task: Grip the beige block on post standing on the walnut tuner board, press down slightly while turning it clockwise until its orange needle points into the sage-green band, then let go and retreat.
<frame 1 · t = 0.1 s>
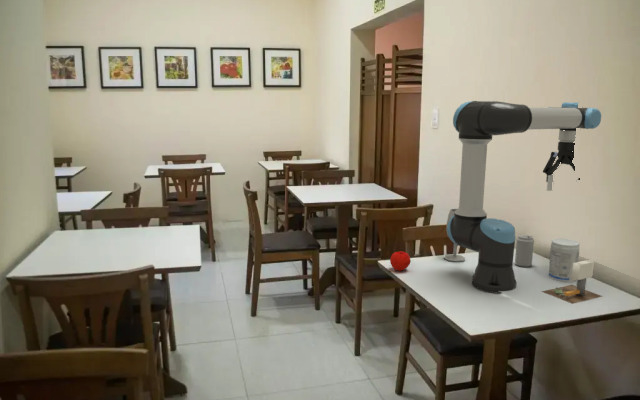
hand: (563, 193, 211), 28 cm above the table, fingers open, 13 cm apart
supplement tub: (561, 280, 191), on the table
beige block on post: (579, 279, 171), point 7 cm above the table, hinge at 0.0°
wineglass: (454, 259, 215), on the table
beverage can: (523, 265, 208), on the table
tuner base: (573, 297, 173), on the table
apple: (399, 270, 200), on the table
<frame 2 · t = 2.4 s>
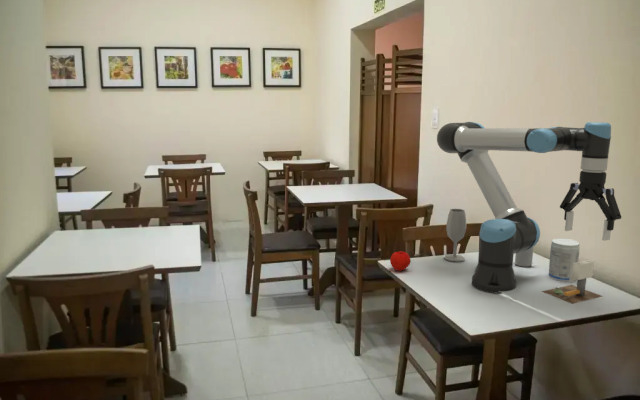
hand: (586, 235, 169), 22 cm above the table, fingers open, 13 cm apart
nothing on the table moved.
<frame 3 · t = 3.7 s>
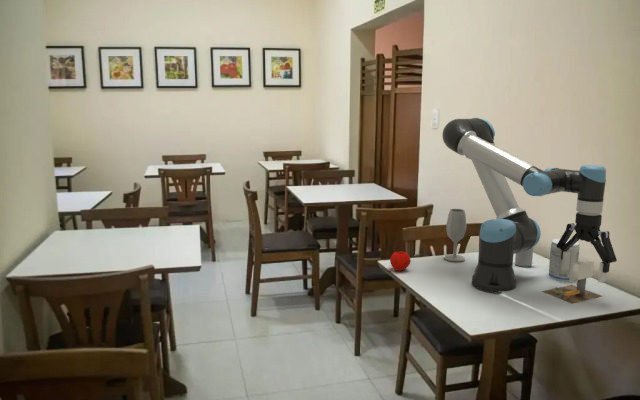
hand: (582, 275, 171), 8 cm above the table, fingers open, 13 cm apart
nothing on the table moved.
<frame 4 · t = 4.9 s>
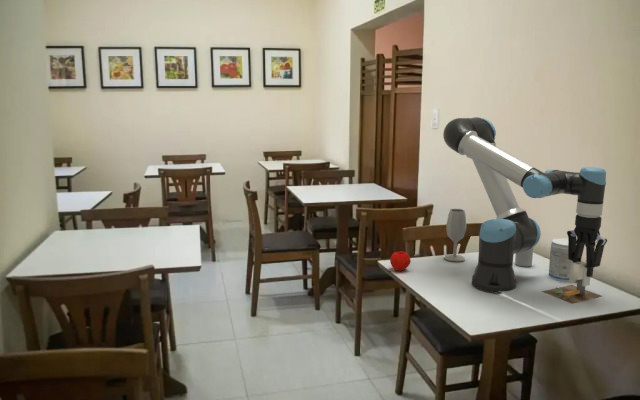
hand: (581, 283, 172), 5 cm above the table, fingers closed on beige block on post, 3 cm apart
beige block on post: (579, 279, 171), point 7 cm above the table, hinge at -0.1°, touching gripper
everything else where it was.
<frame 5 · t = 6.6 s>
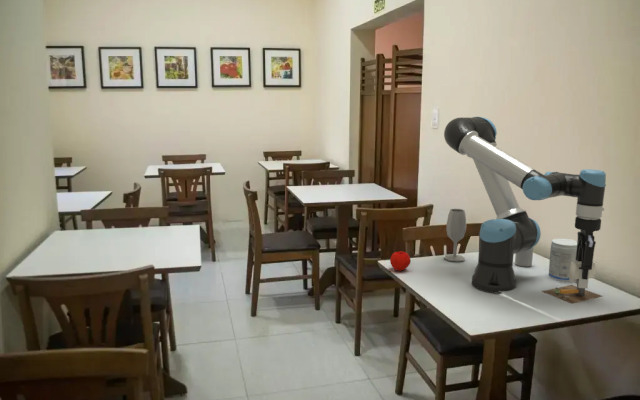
hand: (581, 285, 172), 4 cm above the table, fingers closed on beige block on post, 4 cm apart
beige block on post: (578, 278, 171), point 7 cm above the table, hinge at -19.4°, touching gripper
everything else where it was.
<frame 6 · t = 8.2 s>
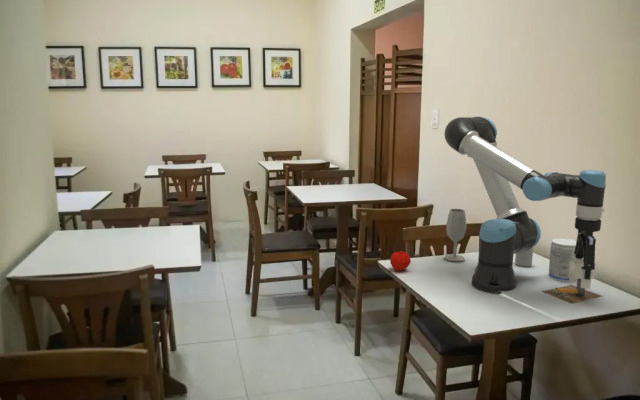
hand: (581, 282, 172), 5 cm above the table, fingers open, 10 cm apart
beige block on post: (577, 278, 172), point 7 cm above the table, hinge at -28.5°
everything else where it was.
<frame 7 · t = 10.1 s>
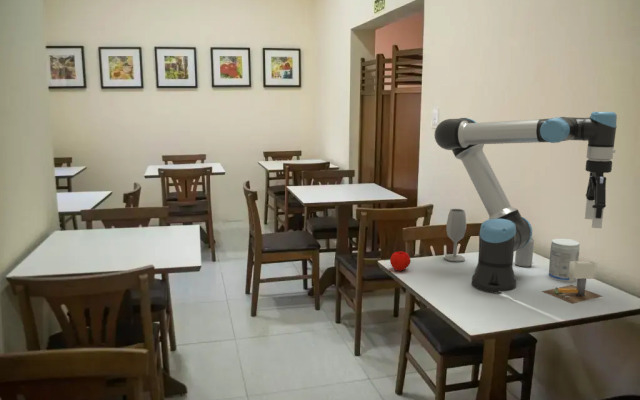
hand: (592, 223, 171), 25 cm above the table, fingers open, 13 cm apart
nothing on the table moved.
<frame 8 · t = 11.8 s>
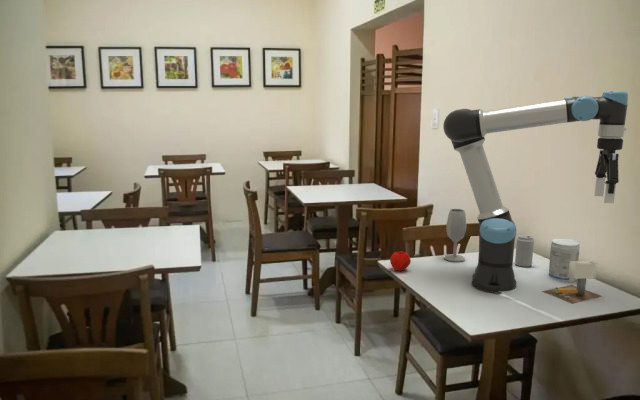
hand: (603, 199, 178), 32 cm above the table, fingers open, 13 cm apart
nothing on the table moved.
at the end: beige block on post at -29° (first picture: +0°); the gripper is holding nothing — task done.
